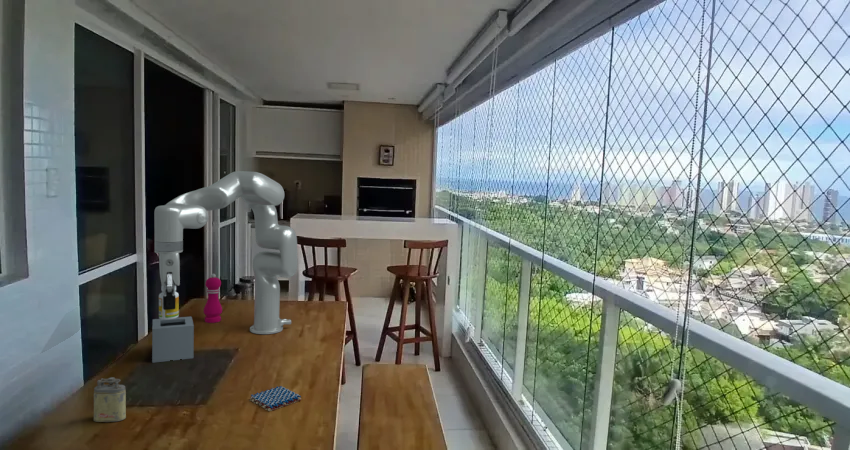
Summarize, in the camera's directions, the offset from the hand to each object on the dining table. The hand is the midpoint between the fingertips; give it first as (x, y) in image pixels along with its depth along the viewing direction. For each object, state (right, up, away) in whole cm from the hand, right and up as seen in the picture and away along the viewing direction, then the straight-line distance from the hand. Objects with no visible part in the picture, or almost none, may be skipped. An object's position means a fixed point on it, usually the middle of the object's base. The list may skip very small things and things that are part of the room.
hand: (169, 306), depth 151 cm
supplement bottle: (0, -4, 0) cm, 4 cm away
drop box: (-8, -19, +18) cm, 27 cm away
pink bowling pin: (-11, -16, +58) cm, 62 cm away
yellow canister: (0, -23, -28) cm, 37 cm away
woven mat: (+36, -24, -13) cm, 45 cm away
